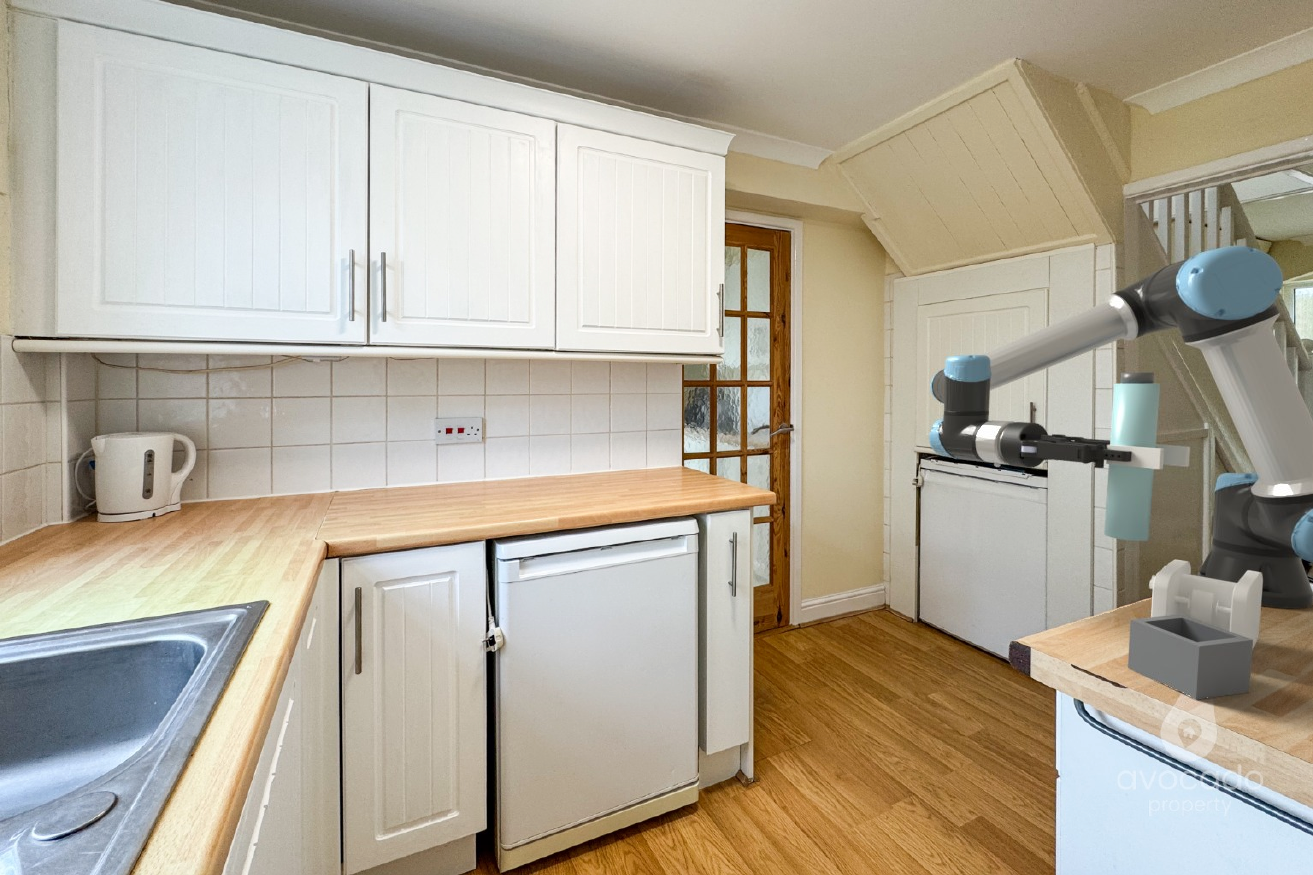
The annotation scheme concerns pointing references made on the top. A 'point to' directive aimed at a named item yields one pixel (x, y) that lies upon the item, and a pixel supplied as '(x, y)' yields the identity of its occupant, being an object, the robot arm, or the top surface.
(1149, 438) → the teal bottle
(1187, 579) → the white piece
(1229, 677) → the block
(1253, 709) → the top surface
